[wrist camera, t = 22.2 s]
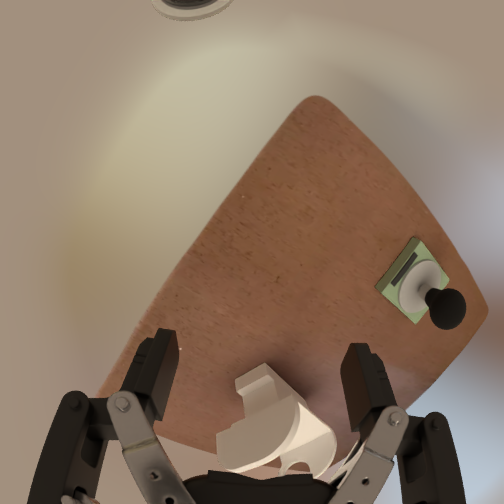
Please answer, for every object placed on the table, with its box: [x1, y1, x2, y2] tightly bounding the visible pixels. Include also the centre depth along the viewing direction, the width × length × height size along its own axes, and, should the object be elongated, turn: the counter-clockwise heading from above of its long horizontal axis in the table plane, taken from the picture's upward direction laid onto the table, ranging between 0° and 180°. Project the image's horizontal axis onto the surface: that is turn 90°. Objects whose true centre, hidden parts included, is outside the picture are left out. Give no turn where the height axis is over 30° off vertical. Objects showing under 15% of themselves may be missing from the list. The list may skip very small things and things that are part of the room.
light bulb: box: [419, 284, 466, 330], centre depth 33 cm, size 6×6×10 cm
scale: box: [375, 237, 449, 324], centre depth 39 cm, size 12×10×3 cm
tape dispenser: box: [216, 362, 337, 479], centre depth 36 cm, size 14×13×18 cm
